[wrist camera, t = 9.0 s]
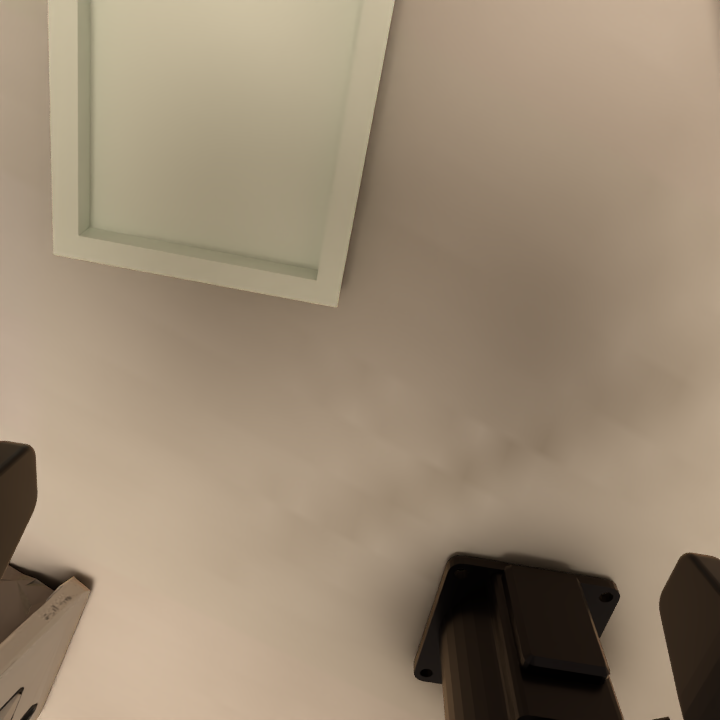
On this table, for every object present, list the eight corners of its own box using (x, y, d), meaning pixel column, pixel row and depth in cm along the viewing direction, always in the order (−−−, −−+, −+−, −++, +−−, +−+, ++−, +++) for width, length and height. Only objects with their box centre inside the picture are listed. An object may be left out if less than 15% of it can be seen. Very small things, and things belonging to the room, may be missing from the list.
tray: (339, 290, 21) (336, 307, 19) (72, 240, 20) (53, 254, 19) (403, -52, 16) (405, -56, 15) (69, -126, 16) (44, -135, 15)
